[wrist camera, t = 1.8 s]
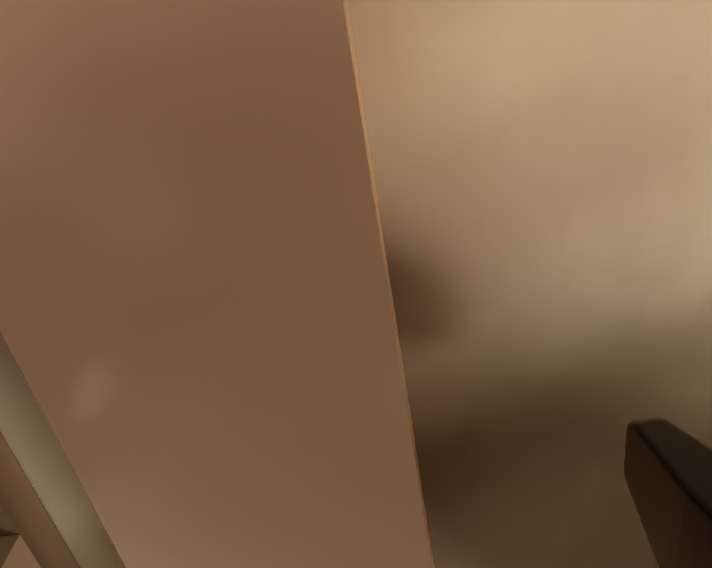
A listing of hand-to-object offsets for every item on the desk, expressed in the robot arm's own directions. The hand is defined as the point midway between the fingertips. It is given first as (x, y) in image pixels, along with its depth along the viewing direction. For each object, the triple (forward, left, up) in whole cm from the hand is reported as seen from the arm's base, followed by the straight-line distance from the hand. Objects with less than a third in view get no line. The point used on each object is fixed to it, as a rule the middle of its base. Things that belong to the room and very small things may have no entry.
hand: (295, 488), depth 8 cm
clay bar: (0, 0, -3) cm, 3 cm away
